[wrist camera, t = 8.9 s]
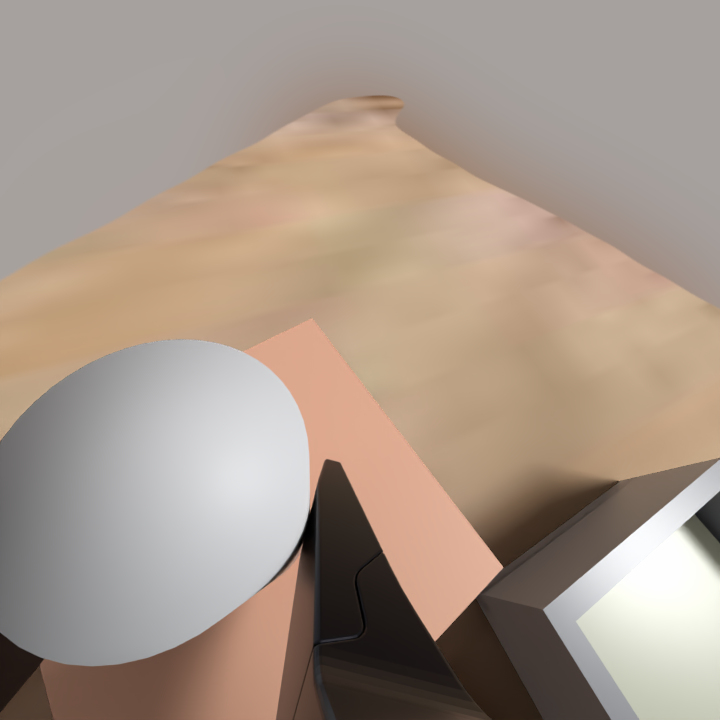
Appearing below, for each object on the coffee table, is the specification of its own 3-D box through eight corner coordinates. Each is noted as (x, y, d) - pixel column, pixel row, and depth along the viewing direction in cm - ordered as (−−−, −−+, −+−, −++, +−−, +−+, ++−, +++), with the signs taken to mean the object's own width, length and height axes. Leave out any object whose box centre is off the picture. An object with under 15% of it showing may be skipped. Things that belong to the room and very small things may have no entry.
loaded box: (809, 712, 14) (1040, 787, 9) (665, 939, 10) (919, 1217, 6) (620, 480, 17) (722, 457, 13) (472, 592, 14) (543, 609, 10)
